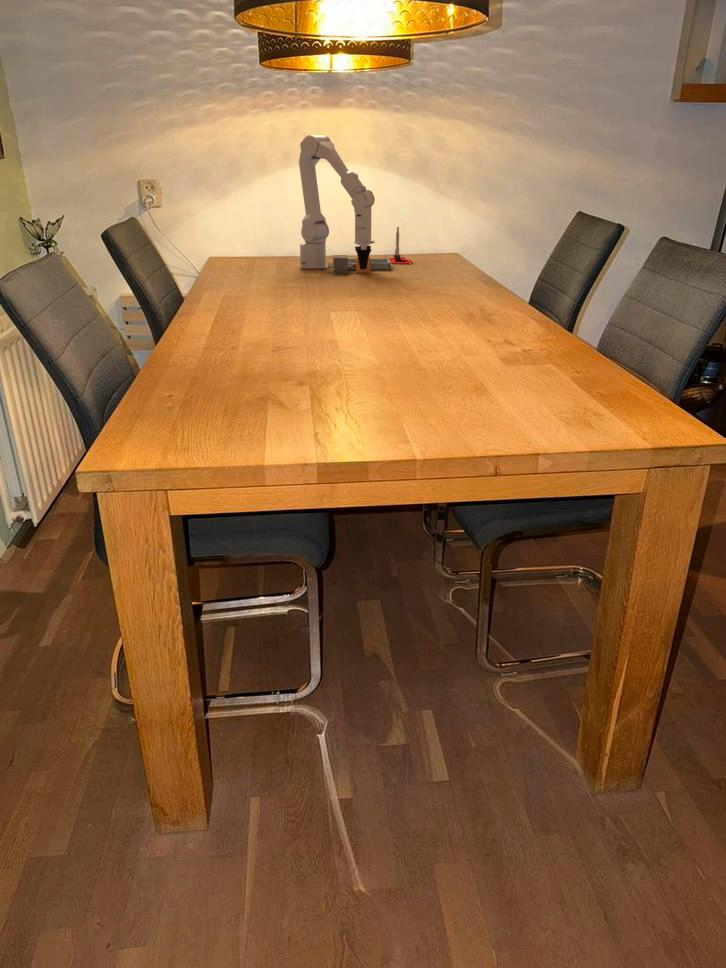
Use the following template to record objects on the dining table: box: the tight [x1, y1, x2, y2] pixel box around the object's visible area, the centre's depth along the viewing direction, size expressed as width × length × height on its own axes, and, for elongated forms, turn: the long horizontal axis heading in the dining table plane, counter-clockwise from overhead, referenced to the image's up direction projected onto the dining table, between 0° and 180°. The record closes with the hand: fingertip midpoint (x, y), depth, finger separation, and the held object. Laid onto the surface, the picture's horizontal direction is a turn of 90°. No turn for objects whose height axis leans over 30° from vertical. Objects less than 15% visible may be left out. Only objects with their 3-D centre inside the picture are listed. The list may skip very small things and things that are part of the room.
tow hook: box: [389, 226, 413, 265], centre depth 280 cm, size 8×13×9 cm
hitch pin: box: [327, 256, 371, 274], centre depth 262 cm, size 15×4×5 cm, turn 92°
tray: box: [348, 257, 392, 271], centre depth 271 cm, size 20×11×2 cm, turn 92°
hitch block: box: [332, 254, 349, 275], centre depth 262 cm, size 5×7×5 cm
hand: (363, 268), depth 263 cm, fingers closed on hitch pin, 4 cm apart
